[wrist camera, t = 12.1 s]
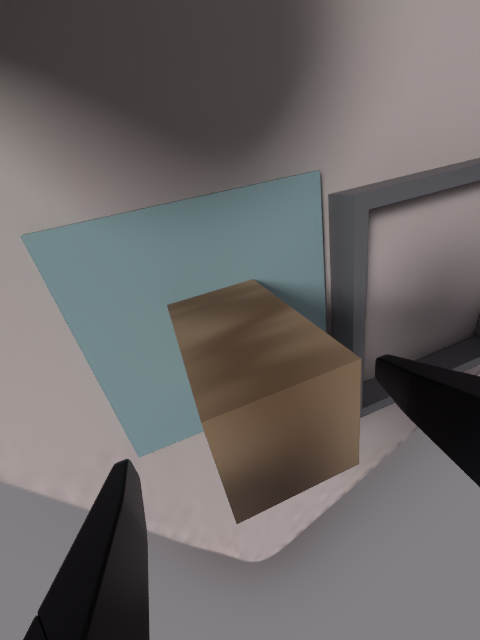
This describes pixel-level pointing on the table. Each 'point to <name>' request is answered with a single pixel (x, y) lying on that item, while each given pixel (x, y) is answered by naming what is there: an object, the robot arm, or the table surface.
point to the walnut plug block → (268, 394)
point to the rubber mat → (176, 287)
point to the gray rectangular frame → (352, 267)
